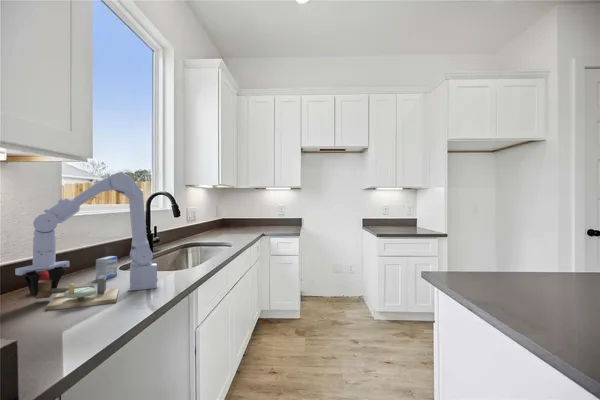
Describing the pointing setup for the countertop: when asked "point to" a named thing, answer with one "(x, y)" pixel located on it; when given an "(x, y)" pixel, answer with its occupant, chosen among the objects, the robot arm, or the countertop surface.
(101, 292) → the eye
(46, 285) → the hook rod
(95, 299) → the board
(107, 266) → the medicine box
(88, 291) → the handwheel
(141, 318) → the countertop surface
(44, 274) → the onion
